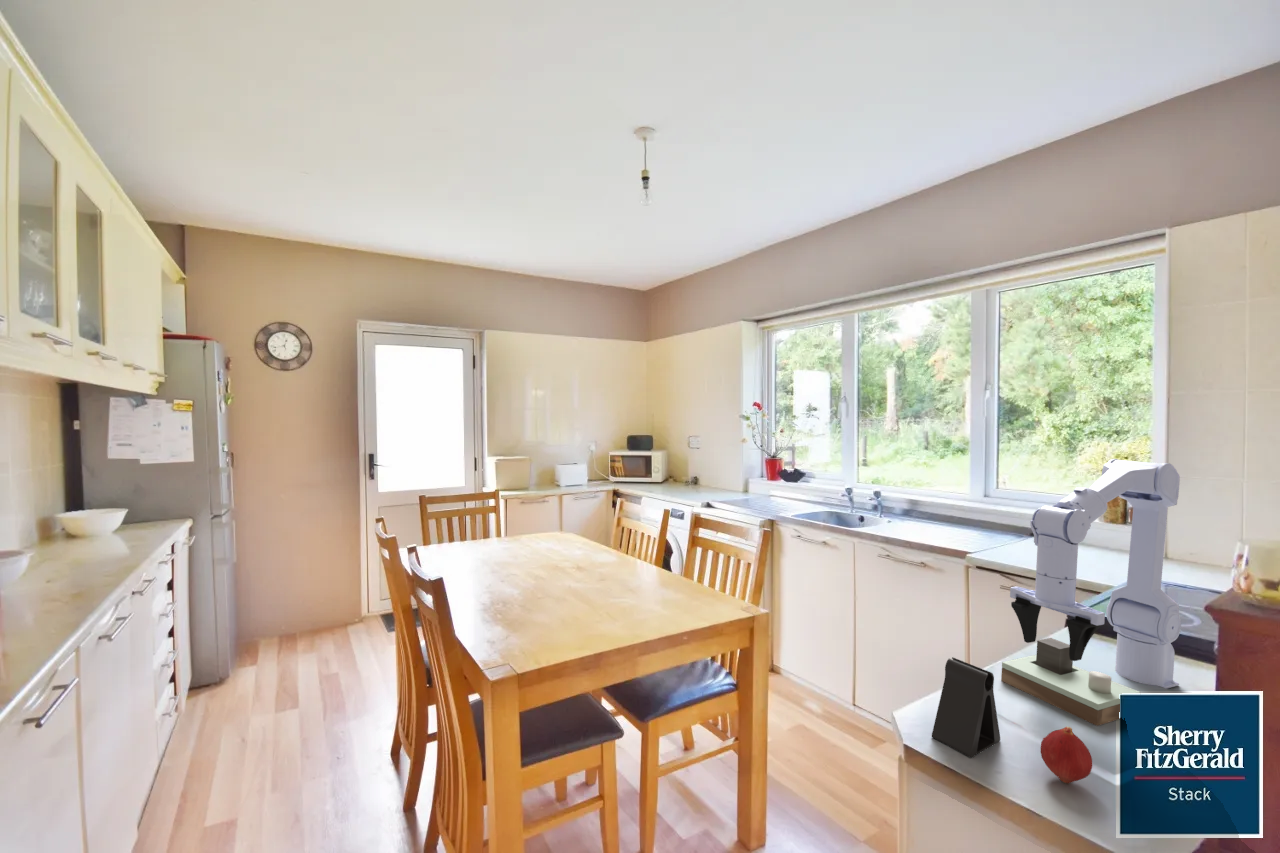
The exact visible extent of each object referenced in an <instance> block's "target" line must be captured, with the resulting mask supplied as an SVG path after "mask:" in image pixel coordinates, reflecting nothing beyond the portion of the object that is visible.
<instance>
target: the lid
mask: <svg viewBox="0 0 1280 853" xmlns="http://www.w3.org/2000/svg"><path fill="white" fill-rule="evenodd" d="M1036 656H1037V654H1033V655H1029V656H1023V657H1020V658H1015V659H1011V660H1005V661H1002V662H1001V669H1002V668H1005V669H1007V670H1009V671H1011V672H1014V673H1016V674H1018V675H1020V676H1022V677H1025V678H1027V679H1029V680H1031V681H1034V682H1036V683H1038V684H1040V685H1043V686H1045V687H1047V688H1049V689H1051V690H1054V691H1056V692H1058V693H1060V694H1063V695H1065V696H1067V697H1069V698H1072V699H1074V700H1076V701H1078V702H1080V703H1083V704H1085V705H1087V706H1089V707H1092V708H1094V709H1096V710H1101V709H1104V708H1108V707H1111V706H1114V705H1118V704H1120V699H1119V694H1122V693H1140V694H1141V692H1140V691H1139V690H1136V689H1134V688H1130V687H1129V686H1126V685H1123V684H1121V683H1118V682H1116V681H1113V680H1112V677H1111V676H1110V675H1109V674H1106V673H1104V672H1100V671H1095V670H1092V671H1088V670H1086V669H1083V668H1080V667H1078V666H1075V665H1074V664H1073V665H1072V672H1071V673H1067V674H1063V675H1059V674H1057V673H1054V672H1052V671H1050V670H1047V669H1045V668H1042V667H1040V666H1038V665H1036Z"/></svg>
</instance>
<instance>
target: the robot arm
mask: <svg viewBox="0 0 1280 853" xmlns="http://www.w3.org/2000/svg"><path fill="white" fill-rule="evenodd" d="M1180 481H1181V477H1180V474H1179V472H1178V470H1177V469H1176V467H1175V466H1174V465H1173V464H1172V463H1170V462H1169V463H1168V462H1164V463H1162V462H1161V463H1160V462H1150V461H1136V460H1123V459H1118V458H1111V459H1109V460H1108V461H1107V462H1106V463H1104V464H1103V467H1102V469H1101V476H1099V478H1098V479H1097V480H1095V482H1094V483H1092V485H1090V486H1089V487H1078V486H1077V487H1075V488H1074V489H1073V491H1072V492H1070V493H1069V494H1067V495H1066V496H1065V497H1062V499H1060V500H1059V501H1058V502H1056V503H1053V505H1052V506H1049V505H1043V506H1042V507H1039V508H1037V509H1035V511H1034V513H1033V514H1032V518H1031V520H1030V522H1029V523H1030V529H1031V532H1032V533H1033V537H1034V538H1033V543H1034V546H1036V547H1037V548H1036V550H1037V551H1036V567H1035V568H1036V569H1035V585H1034V586H1035V589H1029V588H1025V587H1022V586H1021V587H1020V586H1018V585H1017V586H1011V587H1010V588H1009V590H1010V591H1009V598H1012V599H1015V600H1014V601H1011V608H1012V609H1013V611H1014V613H1015V615H1016V617H1017V619H1018V623H1019V624H1020V628H1021V630H1022V636H1023V640H1024V642H1025V643H1027V644H1029V643H1035V642H1036V641H1037V640H1036V639H1037V633H1038V620H1039V615H1040V611H1041V609H1042V608H1046V609H1048V610H1052V611H1054V612H1055V611H1056V612H1058V613H1061V614H1063V615H1068V616H1070V617H1073V619H1067V620H1066V626H1067V629H1068V636H1069V645H1070V648H1069V657H1070V660H1073V662H1077V661H1080V660H1082V659H1083V655H1084V653H1085V650H1086V648H1087V646H1088V644H1089V642H1090V640H1091V639H1092V637H1093V636H1094V634H1096V632H1097V630H1099V629H1100V627H1101V626H1103V625H1105V619H1107V621H1108V623H1109V624H1110V626H1111V627H1113V631H1114V632H1116V633H1117V634H1116V635H1117V636H1116V651H1115V667H1114V669H1115V670H1114V671H1115V673H1117V675H1119V676H1121V677H1122V678H1125V679H1127V680H1130V681H1132V682H1136V683H1140V684H1143V685H1149V686H1159V687H1162V688H1164V689H1170V688H1174V687H1177V686H1179V685H1180V683H1179V682H1178V681H1175V680H1174V673H1175V672H1174V669H1175V668H1174V667H1175V655H1176V654H1175V649H1174V647H1173V644H1171V643H1173V642H1175V641H1177V639H1178V638H1179V635H1180V633H1181V630H1182V620H1181V618H1180V607H1179V606H1180V605H1179V603H1178V602H1176V601H1175V600H1174V599H1173V598H1171V596H1169V595H1168V594H1166V592H1164V591H1163V590H1162V581H1163V580H1162V579H1163V569H1164V568H1163V567H1164V556H1165V543H1166V533H1167V532H1166V530H1167V522H1168V521H1167V519H1168V510H1169V507H1174V506H1177V505H1178V499H1179V496H1180V495H1179V493H1180V484H1181V483H1180ZM1117 497H1119V498H1120V499H1123V500H1125V501H1127V502H1128V503H1129V505H1130V506H1131V507H1132V518H1131V532H1130V543H1129V553H1128V554H1129V555H1128V567H1127V576H1126V585H1122V586H1120V587H1117V588H1114V589H1113V590H1112V591H1111V592H1110V593H1111V594H1110V599H1109V602H1108V604H1107V606H1106V612H1104V611H1103V612H1102V611H1100V610H1097V609H1094V608H1092V607H1090V606H1087V605H1084V604H1082V603H1081V602H1077V601H1076V589H1077V588H1076V587H1077V575H1078V573H1077V572H1078V571H1077V570H1078V554H1079V553H1078V552H1079V544H1080V543H1082V542H1083V541H1084V540H1085V539H1086V536H1087V533H1088V531H1089V530H1090V529H1091V526H1092V523H1093V522H1095V521H1096V520H1098V518H1100V517H1102V516H1103V515H1104V514H1105V513H1106V512H1107V511H1108V503H1109V502H1111V501H1112V500H1114V499H1115V498H1117ZM1105 616H1106V617H1105Z"/></svg>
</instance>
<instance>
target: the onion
mask: <svg viewBox="0 0 1280 853" xmlns="http://www.w3.org/2000/svg"><path fill="white" fill-rule="evenodd" d="M1040 755H1041V758H1042V761H1043V762H1044V763H1045V765H1046V767H1047V768H1048V769H1049V770H1050V771H1051V773H1053V775H1055V776H1056V777H1057V778H1058V779H1059V780H1060V781H1061V782H1062V783H1064V784H1071V783H1074V782H1077V781H1080V780H1083V779H1085V778H1087V777H1088V776H1089V775H1090V774H1091V772H1092V769H1093V758H1092V757H1093V756H1092V754H1091V752H1090V750H1089V748H1088V747H1087V746H1086V744H1085V743H1084V741H1082V740H1081V738H1079V737H1078V736H1077V735H1076V734H1074V733H1073V728H1072V727H1070V726H1065V727H1064V728H1061V729H1057V730H1053V731H1050V732H1049V733H1048V734H1047V735H1046V736H1045V737H1044V738H1042V740H1041V742H1040Z"/></svg>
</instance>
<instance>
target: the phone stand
mask: <svg viewBox="0 0 1280 853" xmlns="http://www.w3.org/2000/svg"><path fill="white" fill-rule="evenodd" d="M994 683H995V676H994V673H993V672H991V671H988V670H986V669H984V668H981V667H978V666H975V665H973V664H970V663H968V662H965V661H963V660H960V659H958V658H956V657H954V656H953V657H951V658H948V659H947V661H946V662H945V666H944V681H943V686H942V688H941V693H940V699H939V701H938V702H939V703H938V707H937V711H936V714H935V720H934V725H933V727H932V728H933V729H932V732H931V738H932V737H933V739H934V738H935V740H936V739H937V740H936V741H938V742H940V743H942V744H944V745H946V746H948V747H949V748H951V749H953V750H955V751H957V752H959V753H960V754H962V755H964V756H967V757H968V758H970V759H973V758H974V757H976V756H977V755H979V754H981V753H983V752H984V751H986V750H987V748H988V749H989V748H991V747H993V746H995V745H996V744H998V743H999V742H1001V735H1000V734H1001V733H1000V727H999V720H998V714H997V706H996V699H995V694H994V685H995V684H994ZM994 744H995V745H994ZM992 745H993V746H992ZM982 751H983V752H982ZM980 752H981V753H980Z"/></svg>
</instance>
